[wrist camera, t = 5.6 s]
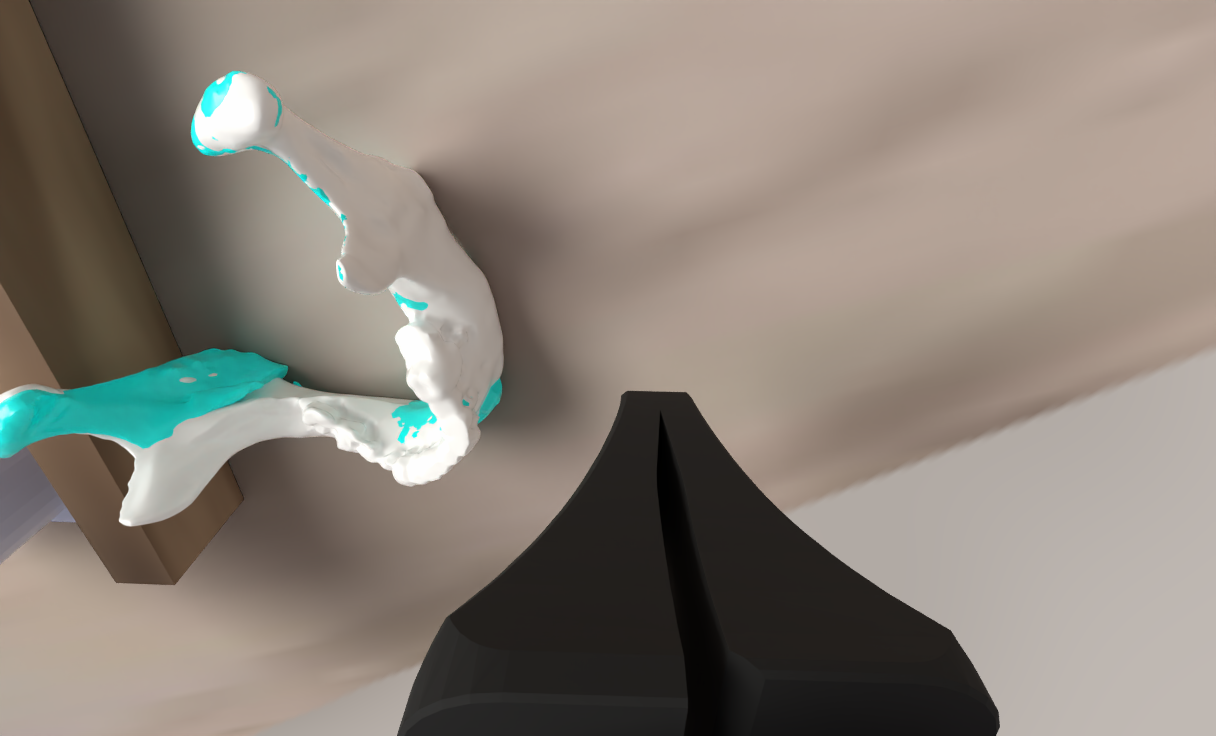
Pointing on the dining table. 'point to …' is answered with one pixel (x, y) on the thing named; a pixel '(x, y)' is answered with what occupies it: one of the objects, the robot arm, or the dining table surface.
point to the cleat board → (81, 309)
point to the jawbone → (253, 386)
